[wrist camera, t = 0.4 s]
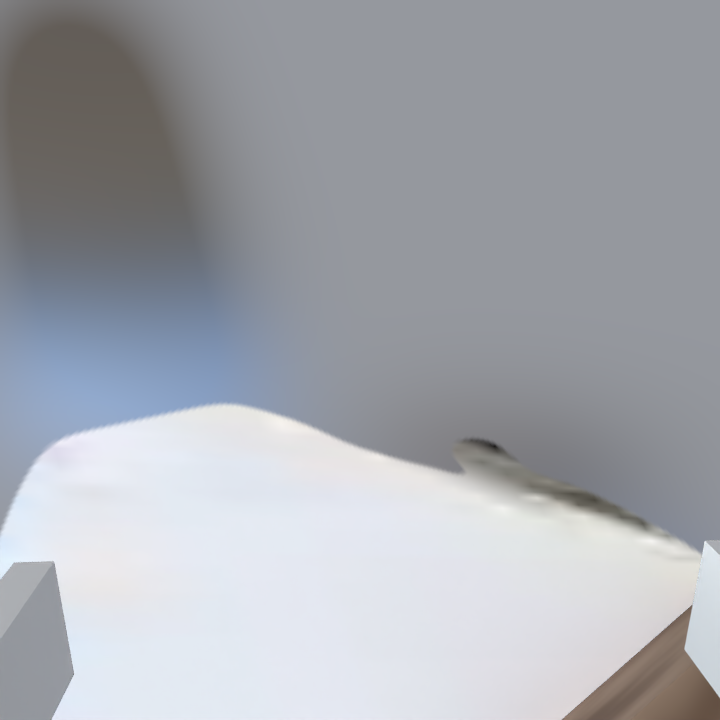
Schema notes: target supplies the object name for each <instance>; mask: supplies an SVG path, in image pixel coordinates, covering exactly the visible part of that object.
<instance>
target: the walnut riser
mask: <svg viewBox="0 0 720 720" xmlns="http://www.w3.org/2000/svg"><path fill="white" fill-rule="evenodd" d="M692 606H693V605H692ZM692 606H691V607H690V608H688V609H687V610H686V611H685V612H684V613H683V614H682V615H680V616H679V617H678V618H677V619H676V620H675V621H674V622H672V623H671V624H670V625H669V626H668V627H667V628H666V629H665V630H663V631H662V632H661V633H660V634H659V635H658V636H657V637H655V638H654V639H653V640H652V641H651V642H650V643H649V644H647V645H646V646H645V647H644V648H643V649H642V650H641V651H640V652H638V653H637V654H636V655H635V656H634V657H633V658H632V659H630V660H629V661H628V662H627V663H626V664H625V665H624V666H622V667H621V668H620V669H619V670H618V671H617V672H616V673H615V674H613V675H612V676H611V677H610V678H609V679H608V680H607V681H605V682H604V683H603V684H602V685H601V686H600V687H599V688H597V689H596V690H595V691H594V692H593V693H592V694H591V695H590V696H588V697H587V698H586V699H585V700H584V701H583V702H582V703H580V704H579V705H578V706H577V707H576V708H575V709H574V710H572V711H571V712H570V713H569V714H568V715H567V716H566V717H565V718H563V719H562V720H720V697H719V696H718V695H717V693H716V692H715V691H714V689H713V688H712V687H711V685H710V684H709V682H708V681H707V680H706V678H705V677H704V676H703V674H702V673H701V671H700V670H699V669H698V667H697V666H696V665H695V663H694V662H693V661H692V659H691V658H690V656H689V655H688V654H687V652H686V651H685V650H684V648H685V643H686V638H687V632H688V627H689V622H690V617H691V611H692Z"/></svg>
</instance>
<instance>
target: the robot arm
mask: <svg viewBox="0 0 720 720" xmlns="http://www.w3.org/2000/svg"><path fill="white" fill-rule="evenodd" d="M684 650H685V651H686V652H687V654H688V655H689V656H690V658H691V659H692V661H693V662H694V663H695V665H696V666H697V667H698V669H699V670H700V671H701V673H702V674H703V676H704V677H705V678H706V680H707V681H708V682H709V684H710V685H711V687H712V688H713V689H714V691H715V692H716V693H717V695H718V696H719V697H720V540H706V541H705V543H704V548H703V553H702V558H701V564H700V569H699V574H698V580H697V585H696V590H695V595H694V601H693V606H692V611H691V617H690V622H689V627H688V632H687V638H686V643H685V648H684ZM73 675H74V671H73V665H72V659H71V654H70V648H69V643H68V637H67V631H66V626H65V620H64V615H63V609H62V603H61V598H60V592H59V586H58V581H57V575H56V570H55V564H54V561H52V562H21V563H13V565H12V566H11V567H10V569H9V570H8V571H7V572H6V574H5V575H4V576H3V577H2V579H1V580H0V720H51V719H52V717H53V715H54V713H55V711H56V709H57V707H58V705H59V703H60V701H61V699H62V697H63V695H64V693H65V691H66V689H67V687H68V685H69V683H70V681H71V679H72V677H73Z"/></svg>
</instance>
